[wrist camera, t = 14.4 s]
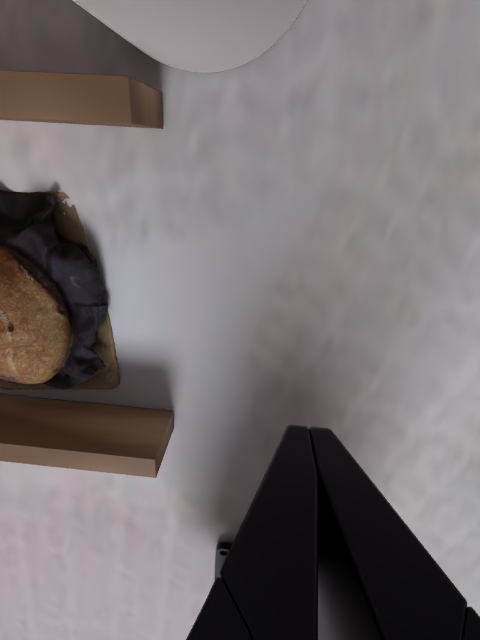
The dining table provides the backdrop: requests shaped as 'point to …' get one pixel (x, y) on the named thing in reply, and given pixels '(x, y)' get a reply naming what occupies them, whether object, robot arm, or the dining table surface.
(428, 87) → the dining table surface
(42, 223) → the bread roll
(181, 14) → the pill bottle
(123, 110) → the tray
